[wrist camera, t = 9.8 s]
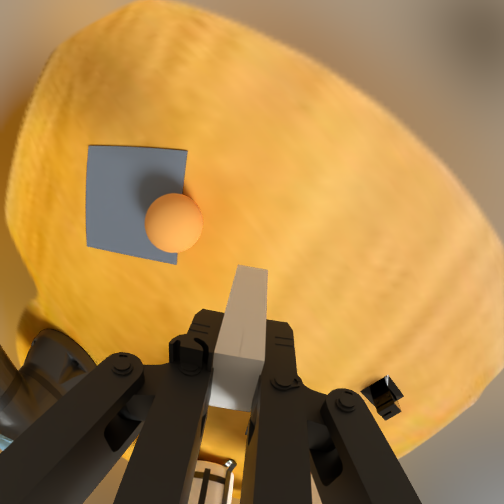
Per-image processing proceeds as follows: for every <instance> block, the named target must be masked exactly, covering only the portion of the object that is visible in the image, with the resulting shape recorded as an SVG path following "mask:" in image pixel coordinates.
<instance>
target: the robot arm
mask: <svg viewBox="0 0 504 504" xmlns="http://www.w3.org/2000/svg"><path fill="white" fill-rule="evenodd" d="M267 277H268V270H265V269H259V268H254V267H248V266H242V265H238V267H237V270H236V274H235V277H234V281H233V285H232V288H231V292H230V296H229V299H228V303H227V307H226V310H225V313H222V312H216V311H211V310H206V309H202V310H201V311H199V312H198V313H197V314H195V316H194V318H193V321H192V324H191V325H190V328H189V330H188V332H187V334H184V335H179V336H177V337H175V338H173V339H172V340H171V341H170V342H169V363H166V364H162V365H143V364H142V362H141V360H140V359H139V358H138V357H136V356H135V355H133V354H130V353H123V352H119V353H115V354H112V355H110V356H109V357H107V358H106V359H105V360H103V361H102V362H101V363H100V364H99V365H98V366H96V365H95V363H94V362H93V360H92V359H91V358H90V357H89V355H88V354H87V353H86V352H85V351H84V350H83V349H82V348H81V347H80V346H79V345H78V344H77V343H75V342H74V341H73V340H72V339H70V338H69V337H67V336H66V335H64V334H62V333H60V332H58V331H56V330H52V329H44V330H42V331H41V332H40V333H39V334H38V335H37V336H36V337H35V338H34V340H33V342H32V346H31V348H30V350H29V352H28V354H27V357H26V359H25V362H24V364H23V366H22V367H21V368H20V370H19V371H18V370H17V369H16V367H15V366H14V364H13V363H12V361H11V360H10V359H9V357H8V356H7V354H6V353H5V351H4V350H3V348H2V346H1V345H0V449H1V450H3V451H2V452H1V453H0V504H83V502H84V501H85V500H86V499H87V498H88V496H89V495H90V494H91V493H92V492H93V490H94V489H95V488H96V487H97V486H98V484H99V483H100V482H101V481H102V480H103V478H104V477H105V476H106V475H107V473H108V472H109V471H110V470H111V468H112V467H113V466H114V465H115V464H116V462H117V461H118V460H119V459H120V457H121V456H122V455H123V454H124V452H125V451H126V450H127V449H128V447H129V446H130V445H131V444H132V442H133V441H134V440H135V439H136V437H137V436H138V435H139V437H138V439H137V442H136V444H135V447H134V449H133V452H132V455H131V457H130V460H129V462H128V465H127V468H126V470H125V473H124V475H123V478H122V481H121V483H120V486H119V489H118V492H117V494H116V497H115V500H114V503H113V504H188V500H189V496H190V491H191V486H192V482H193V477H194V473H195V468H196V464H197V459H198V455H199V450H200V445H201V441H202V436H203V432H204V428H205V423H206V419H207V410H208V405H211V406H216V407H221V408H227V409H233V410H239V411H246V412H250V411H251V417H250V420H249V423H248V427H247V430H246V433H245V435H247V442H246V451H245V461H244V471H243V480H242V489H241V498H240V504H312V488H311V474H312V477H313V480H314V483H315V486H316V488H317V491H318V494H319V497H320V499H321V502H322V504H422V503H421V501H420V500H419V498H418V496H417V494H416V492H415V490H414V488H413V487H412V485H411V483H410V481H409V479H408V477H407V476H406V474H405V472H404V470H403V468H402V467H401V465H400V463H399V461H398V459H397V458H396V456H395V454H394V452H393V451H392V449H391V447H390V445H389V443H388V442H387V440H386V438H385V436H384V435H383V433H382V431H381V429H380V428H379V426H378V424H377V422H376V421H375V419H374V417H373V416H372V414H371V412H370V410H369V409H368V407H367V405H366V404H365V402H364V400H363V399H362V398H361V396H360V395H359V394H357V393H356V392H354V391H352V390H349V389H335V390H332V391H331V392H330V393H329V394H328V395H326V394H323V393H319V392H316V391H314V390H311V389H309V388H308V387H306V386H305V385H304V384H303V382H302V380H301V378H300V377H299V376H298V375H297V368H296V357H295V348H294V336H293V330H292V329H291V327H290V326H289V324H288V323H287V322H280V321H273V320H267V319H266V310H267ZM139 433H140V434H139Z"/></svg>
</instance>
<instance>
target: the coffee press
mask: <svg viewBox="0 0 504 504" xmlns="http://www.w3.org/2000/svg"><path fill="white" fill-rule="evenodd" d="M236 465H237V463H236V462H235V461H233V460H228V461H227V462H226V463H225V464H224V465H219V464H216V463H213V462H208V461H201V460H197V464H196V468H195V473H194V477H193V482H192V486H191V491H190V496H189V500H188V504H231V498H232V490H233V482H234V475H233V473H232V470H233V469H234V468H235V466H236ZM227 467H229V468H227Z"/></svg>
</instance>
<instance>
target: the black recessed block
mask: <svg viewBox="0 0 504 504" xmlns="http://www.w3.org/2000/svg"><path fill="white" fill-rule="evenodd" d="M360 392H361V393H362V394H363V395H364V396H365V397H366V398H367V399H368V400H369V401H370V402H371V403H372V404H373V405H374V406H375V407H376V409H377V413H378V414H379V415H380V416H382V418H383V419H384V420H387V419H389V418H391V417H393V416H395V415H396V414H398V413H400V412H401V409H400V405H399V403H398V400H399V399H400V398H402V397H404V396H403V394H402V393H401V391H400V390H399V389H398V387H397V386H396V385H395V383H394V382H393V381H392V379H391V378H390V377H389V375H387V376H385V377H384V378H382V379H380V380H379V381H377V382H375V383H374V384H372V385H370V386H369V387H367V388H365V389H363V390H362V391H360Z"/></svg>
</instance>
